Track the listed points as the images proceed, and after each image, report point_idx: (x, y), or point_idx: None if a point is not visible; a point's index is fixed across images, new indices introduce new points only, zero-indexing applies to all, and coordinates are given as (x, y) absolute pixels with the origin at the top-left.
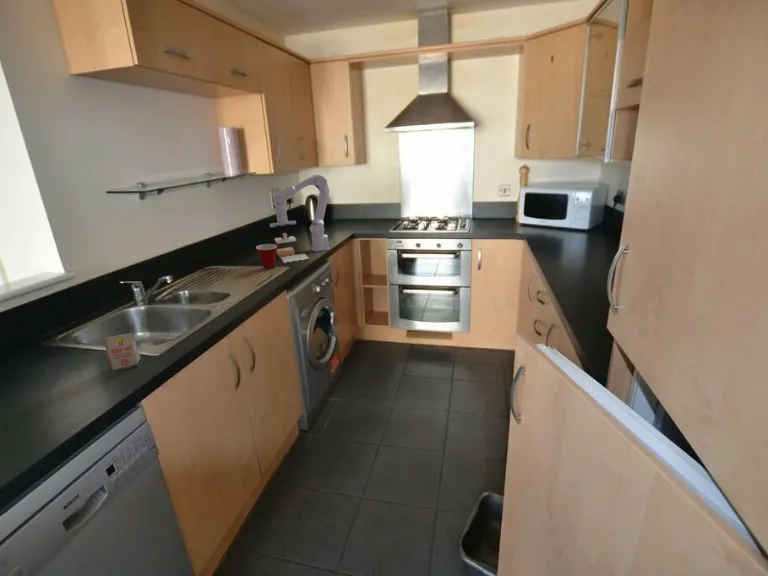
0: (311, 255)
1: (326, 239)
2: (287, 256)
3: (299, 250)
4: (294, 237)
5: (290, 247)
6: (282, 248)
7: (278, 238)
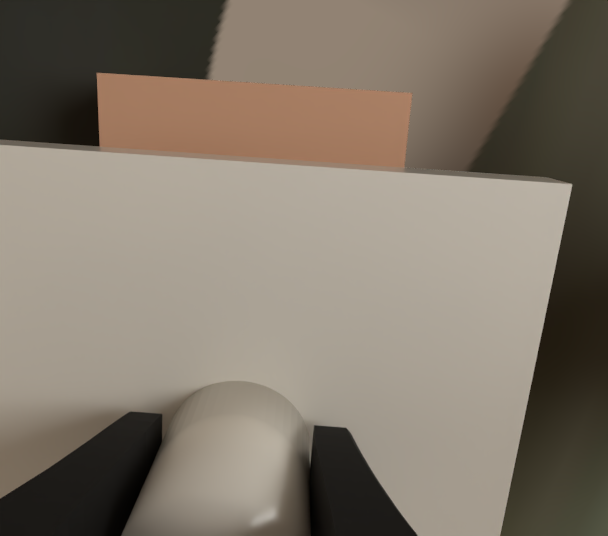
0: (551, 518)
1: None
2: None
3: (534, 69)
4: (516, 434)
5: (381, 114)
6: (218, 82)
7: (51, 255)
